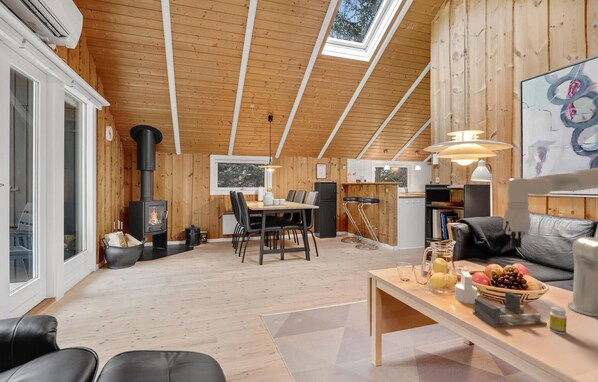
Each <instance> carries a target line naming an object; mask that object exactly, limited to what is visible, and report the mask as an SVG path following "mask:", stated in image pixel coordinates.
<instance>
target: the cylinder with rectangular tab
mask: <svg viewBox="0 0 598 382" xmlns="http://www.w3.org/2000/svg"><path fill="white" fill-rule="evenodd" d="M474 286H475V285H473V276H472V275H471V274H470V272H469V271H463V270H461V271H460V283H456V284H455V285H454V287H455V288H454V299H455V300H456V301H458V302H460V303H464V304H469V305H470V304H475V299H478V288H477V287H476V286H475V287H474Z"/></svg>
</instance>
